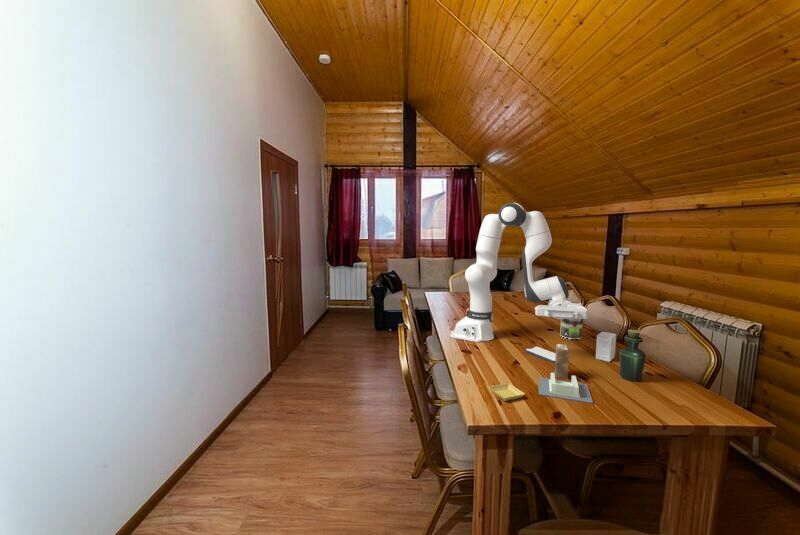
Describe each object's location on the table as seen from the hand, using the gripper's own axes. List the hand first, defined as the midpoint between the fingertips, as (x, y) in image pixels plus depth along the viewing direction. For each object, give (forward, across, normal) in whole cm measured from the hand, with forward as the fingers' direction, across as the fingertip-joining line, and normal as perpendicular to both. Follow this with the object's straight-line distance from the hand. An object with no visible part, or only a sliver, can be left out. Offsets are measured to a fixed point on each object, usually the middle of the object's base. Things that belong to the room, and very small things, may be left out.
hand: (561, 315), depth 137 cm
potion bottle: (+5, +24, +21) cm, 32 cm away
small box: (-15, +18, +21) cm, 32 cm away
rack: (+25, 0, +20) cm, 32 cm away
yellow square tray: (+36, -18, +21) cm, 45 cm away
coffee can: (-43, +7, +21) cm, 48 cm away
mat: (+25, 0, +20) cm, 32 cm away
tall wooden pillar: (+12, 0, +20) cm, 24 cm away
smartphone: (-8, -6, +21) cm, 23 cm away
